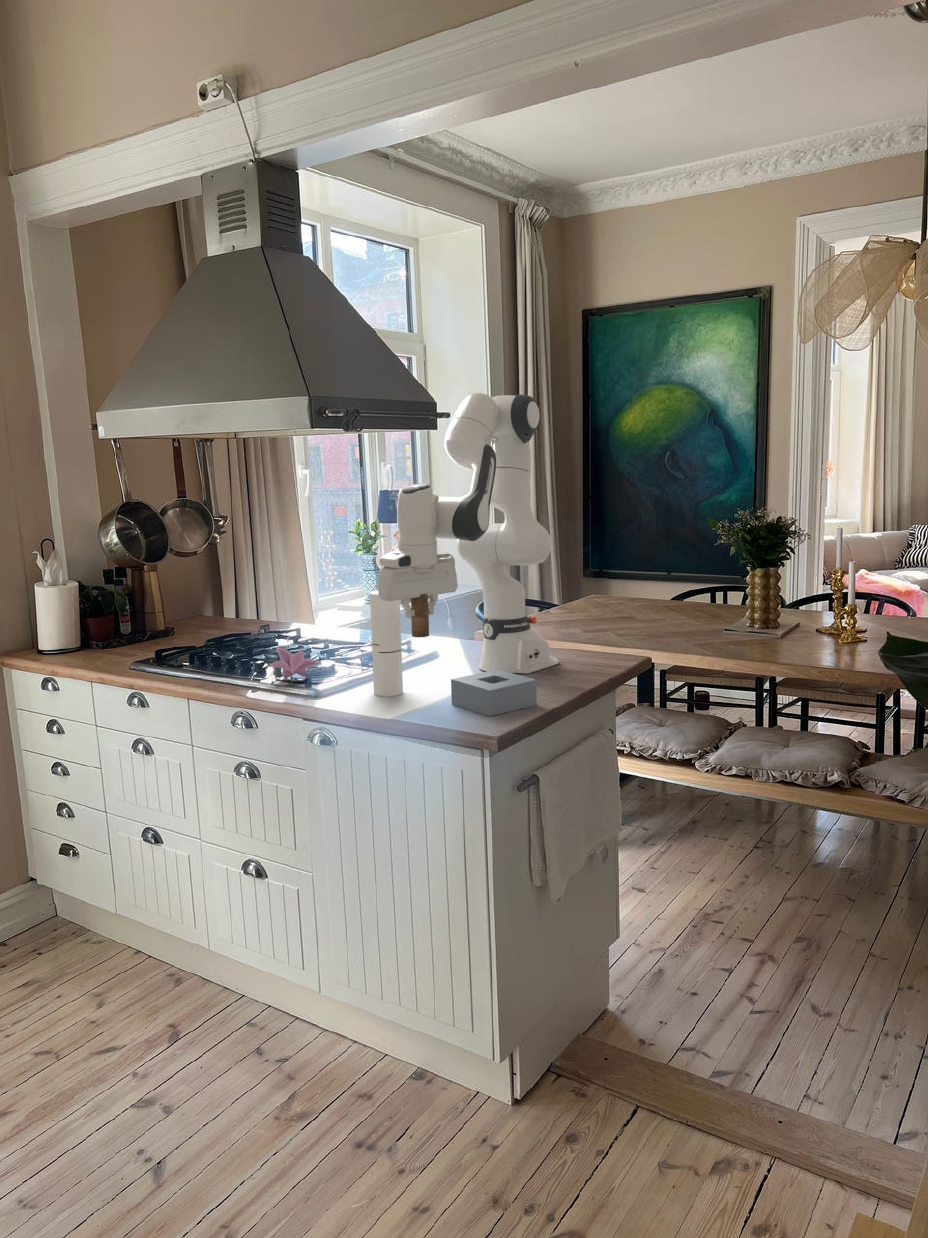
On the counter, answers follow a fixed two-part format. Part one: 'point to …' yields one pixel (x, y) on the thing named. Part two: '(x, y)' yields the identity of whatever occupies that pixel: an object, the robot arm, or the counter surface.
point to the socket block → (494, 692)
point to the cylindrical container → (386, 646)
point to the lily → (293, 663)
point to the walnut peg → (420, 616)
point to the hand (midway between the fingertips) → (419, 615)
